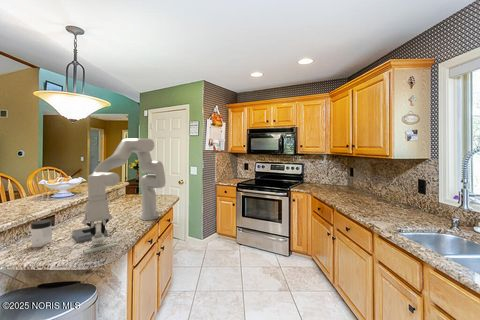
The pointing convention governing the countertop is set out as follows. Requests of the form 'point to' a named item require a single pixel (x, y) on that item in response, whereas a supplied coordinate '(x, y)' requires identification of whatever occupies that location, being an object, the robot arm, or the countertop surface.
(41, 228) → the jar
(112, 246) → the mat
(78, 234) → the housing
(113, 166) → the robot arm
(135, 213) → the countertop surface
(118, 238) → the countertop surface
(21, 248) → the countertop surface
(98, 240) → the grey rounded knob
